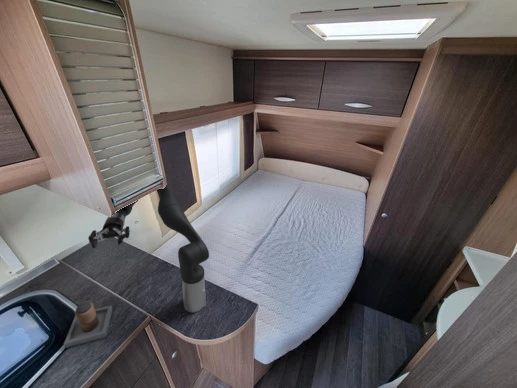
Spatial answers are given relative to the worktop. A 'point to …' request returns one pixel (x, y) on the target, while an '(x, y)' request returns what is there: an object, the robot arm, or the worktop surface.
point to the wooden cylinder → (87, 316)
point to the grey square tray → (100, 331)
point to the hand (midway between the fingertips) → (106, 244)
